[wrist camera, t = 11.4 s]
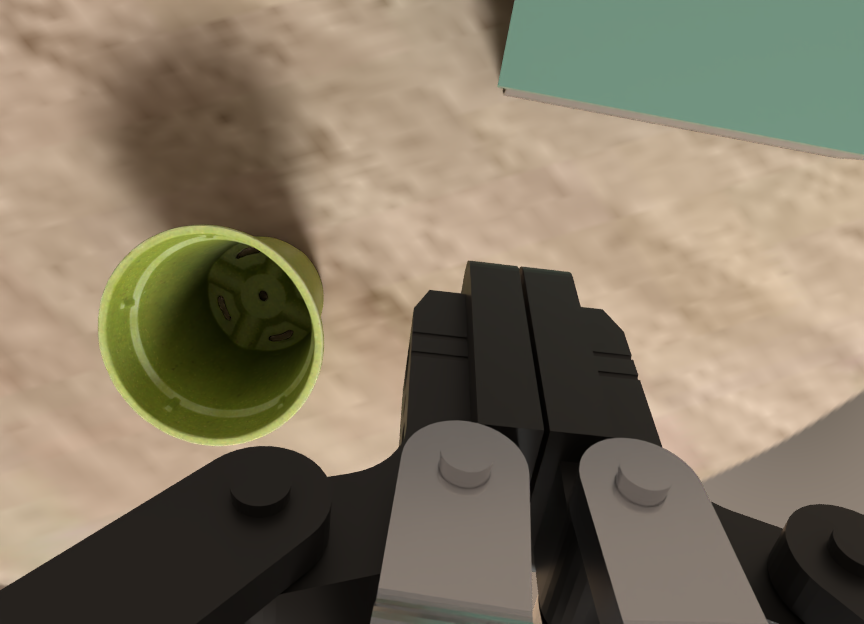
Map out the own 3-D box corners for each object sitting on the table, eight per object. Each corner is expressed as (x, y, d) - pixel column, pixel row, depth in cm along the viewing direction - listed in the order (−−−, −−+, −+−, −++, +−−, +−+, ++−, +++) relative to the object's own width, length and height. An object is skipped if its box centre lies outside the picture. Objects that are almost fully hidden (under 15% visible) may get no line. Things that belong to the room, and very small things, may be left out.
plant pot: (384, 347, 40) (357, 405, 32) (222, 405, 42) (155, 474, 33) (314, 177, 38) (266, 190, 30) (148, 243, 40) (57, 273, 31)
